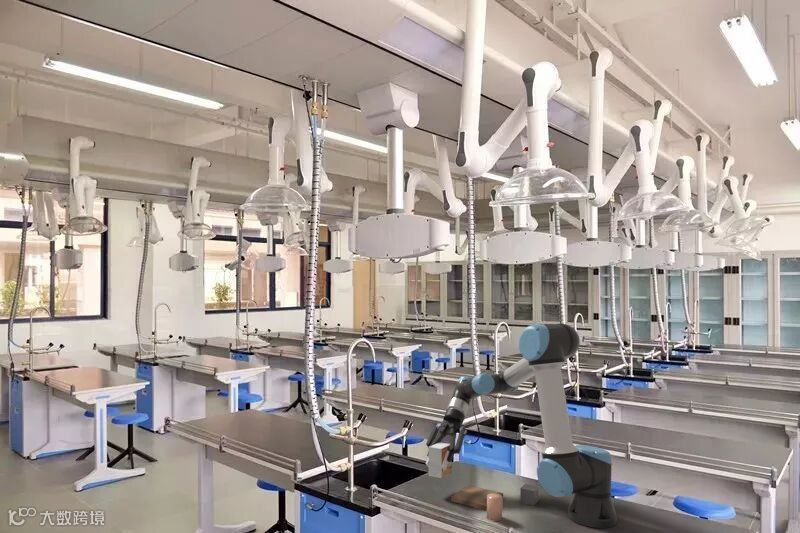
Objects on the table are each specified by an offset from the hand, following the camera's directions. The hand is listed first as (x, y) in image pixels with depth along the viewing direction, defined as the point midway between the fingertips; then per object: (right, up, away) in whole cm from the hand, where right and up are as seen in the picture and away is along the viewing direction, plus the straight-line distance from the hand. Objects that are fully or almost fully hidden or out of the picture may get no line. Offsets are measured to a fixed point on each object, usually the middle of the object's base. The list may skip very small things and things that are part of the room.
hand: (435, 467), depth 202 cm
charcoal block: (+33, -11, -4) cm, 35 cm away
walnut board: (+15, -10, -3) cm, 18 cm away
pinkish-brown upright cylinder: (+18, -10, -18) cm, 28 cm away
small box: (+2, -4, +3) cm, 5 cm away
